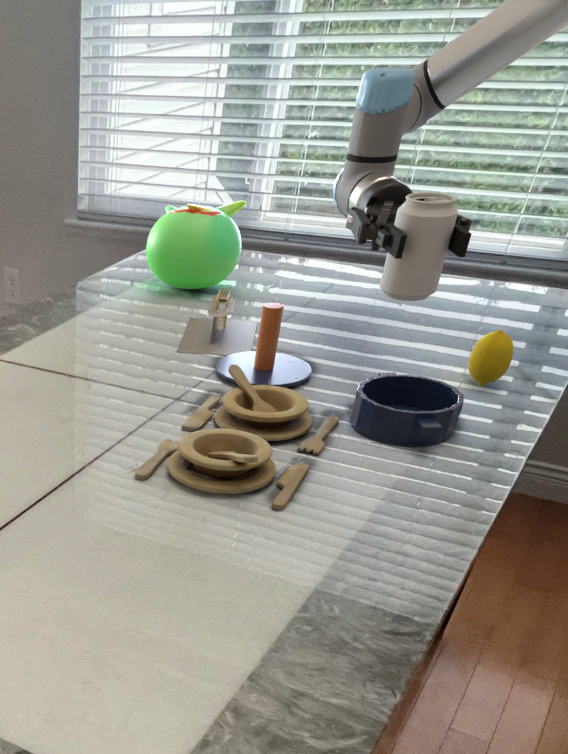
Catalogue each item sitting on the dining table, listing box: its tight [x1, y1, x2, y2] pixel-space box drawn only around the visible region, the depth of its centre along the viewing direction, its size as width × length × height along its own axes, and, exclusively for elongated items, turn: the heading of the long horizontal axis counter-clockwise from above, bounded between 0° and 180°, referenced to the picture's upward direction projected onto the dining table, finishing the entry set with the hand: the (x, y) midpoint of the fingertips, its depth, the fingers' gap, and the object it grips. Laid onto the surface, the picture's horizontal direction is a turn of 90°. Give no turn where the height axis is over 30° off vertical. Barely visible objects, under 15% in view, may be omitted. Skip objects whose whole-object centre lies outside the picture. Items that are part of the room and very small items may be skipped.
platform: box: [176, 288, 258, 356], centre depth 142 cm, size 12×18×7 cm, turn 165°
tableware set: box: [134, 365, 340, 511], centre depth 110 cm, size 30×20×6 cm, turn 151°
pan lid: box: [215, 301, 313, 388], centre depth 127 cm, size 14×14×10 cm
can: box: [379, 191, 459, 302], centre depth 113 cm, size 8×8×12 cm
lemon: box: [467, 329, 514, 387], centre depth 122 cm, size 6×6×8 cm
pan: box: [349, 371, 465, 448], centre depth 114 cm, size 13×19×4 cm
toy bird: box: [145, 200, 247, 290], centre depth 161 cm, size 18×17×15 cm
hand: (433, 246), depth 109 cm, fingers closed on can, 7 cm apart
